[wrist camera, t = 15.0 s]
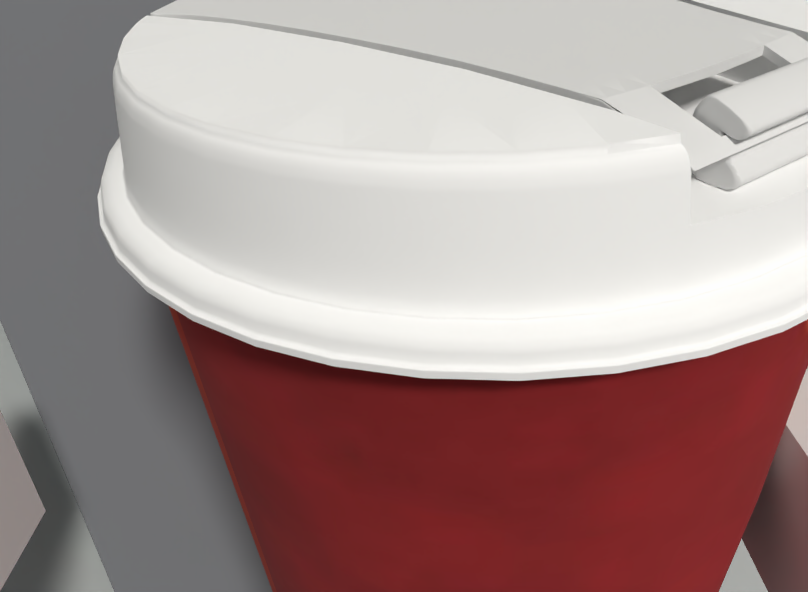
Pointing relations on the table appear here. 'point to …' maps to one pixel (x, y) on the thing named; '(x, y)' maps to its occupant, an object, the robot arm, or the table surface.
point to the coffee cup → (477, 276)
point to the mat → (103, 318)
